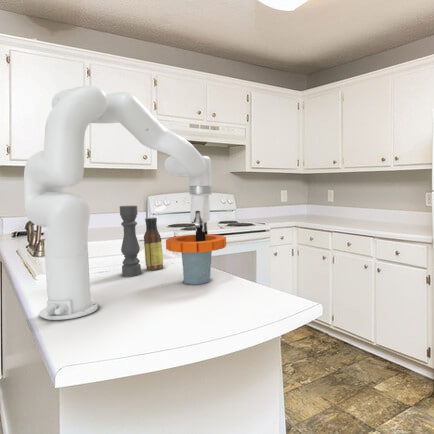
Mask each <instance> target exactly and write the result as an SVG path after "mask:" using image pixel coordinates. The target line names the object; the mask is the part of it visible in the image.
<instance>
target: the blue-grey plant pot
mask: <svg viewBox="0 0 434 434" xmlns="http://www.w3.org/2000/svg"><path fill="white" fill-rule="evenodd" d="M180 253H181V263H182V273H183V283H184V284H186V285H203V284H207V283H209V282H210V281H211V271H212V270H211V269H212V267H211V266H212V253H213V251H207V252H195V253H183V252H180Z"/></svg>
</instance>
